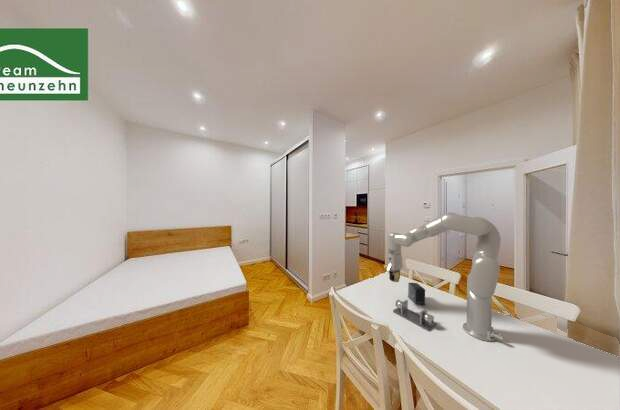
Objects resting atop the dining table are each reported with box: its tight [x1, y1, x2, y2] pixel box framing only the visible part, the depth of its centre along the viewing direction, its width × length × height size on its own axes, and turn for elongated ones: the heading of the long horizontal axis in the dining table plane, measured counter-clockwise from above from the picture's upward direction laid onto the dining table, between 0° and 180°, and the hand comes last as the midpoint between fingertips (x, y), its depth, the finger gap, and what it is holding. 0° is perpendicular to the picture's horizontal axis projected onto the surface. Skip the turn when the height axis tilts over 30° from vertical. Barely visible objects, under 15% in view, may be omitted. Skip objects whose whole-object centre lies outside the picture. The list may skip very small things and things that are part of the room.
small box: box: [407, 282, 426, 306], centre depth 128 cm, size 11×6×10 cm, turn 179°
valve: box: [390, 270, 400, 283], centre depth 123 cm, size 5×5×7 cm
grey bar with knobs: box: [392, 299, 437, 332], centre depth 109 cm, size 20×9×7 cm, turn 33°
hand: (394, 278), depth 123 cm, fingers closed on valve, 5 cm apart
